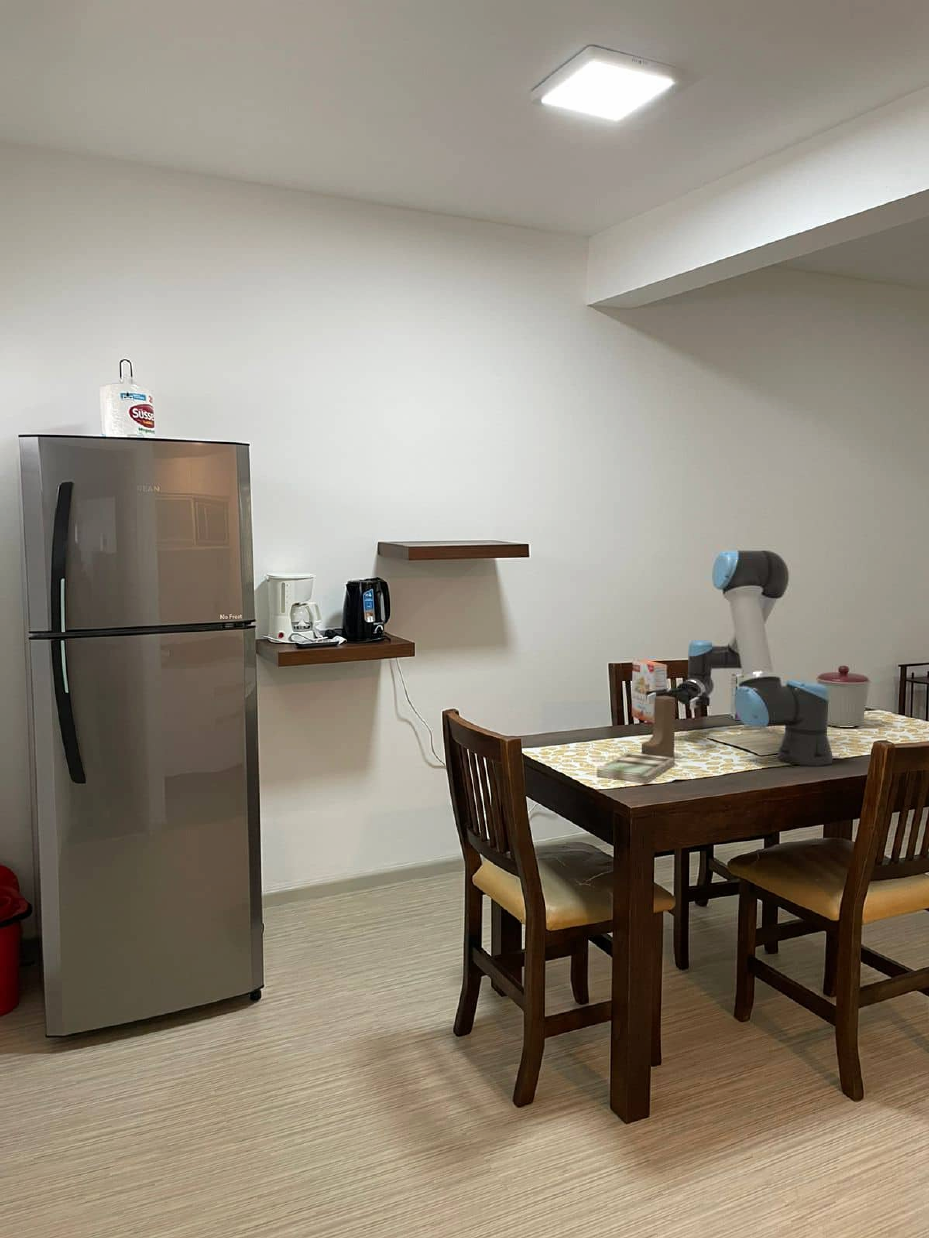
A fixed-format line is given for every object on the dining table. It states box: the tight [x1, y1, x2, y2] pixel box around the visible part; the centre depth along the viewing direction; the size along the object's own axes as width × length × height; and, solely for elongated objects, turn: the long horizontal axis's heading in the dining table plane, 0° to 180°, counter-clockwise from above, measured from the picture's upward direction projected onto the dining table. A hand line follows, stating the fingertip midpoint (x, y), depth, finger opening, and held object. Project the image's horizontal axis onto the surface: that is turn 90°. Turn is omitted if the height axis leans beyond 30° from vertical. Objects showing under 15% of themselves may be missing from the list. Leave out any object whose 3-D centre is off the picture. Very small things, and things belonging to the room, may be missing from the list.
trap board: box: [596, 751, 676, 784], centre depth 264 cm, size 14×24×2 cm, turn 150°
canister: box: [815, 665, 872, 727], centre depth 329 cm, size 18×18×21 cm
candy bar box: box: [730, 673, 743, 719], centre depth 339 cm, size 11×5×16 cm, turn 97°
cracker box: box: [631, 659, 668, 725], centre depth 337 cm, size 14×6×21 cm, turn 22°
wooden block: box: [641, 696, 676, 758], centre depth 279 cm, size 9×4×18 cm, turn 120°
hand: (669, 702), depth 288 cm, fingers open, 13 cm apart
